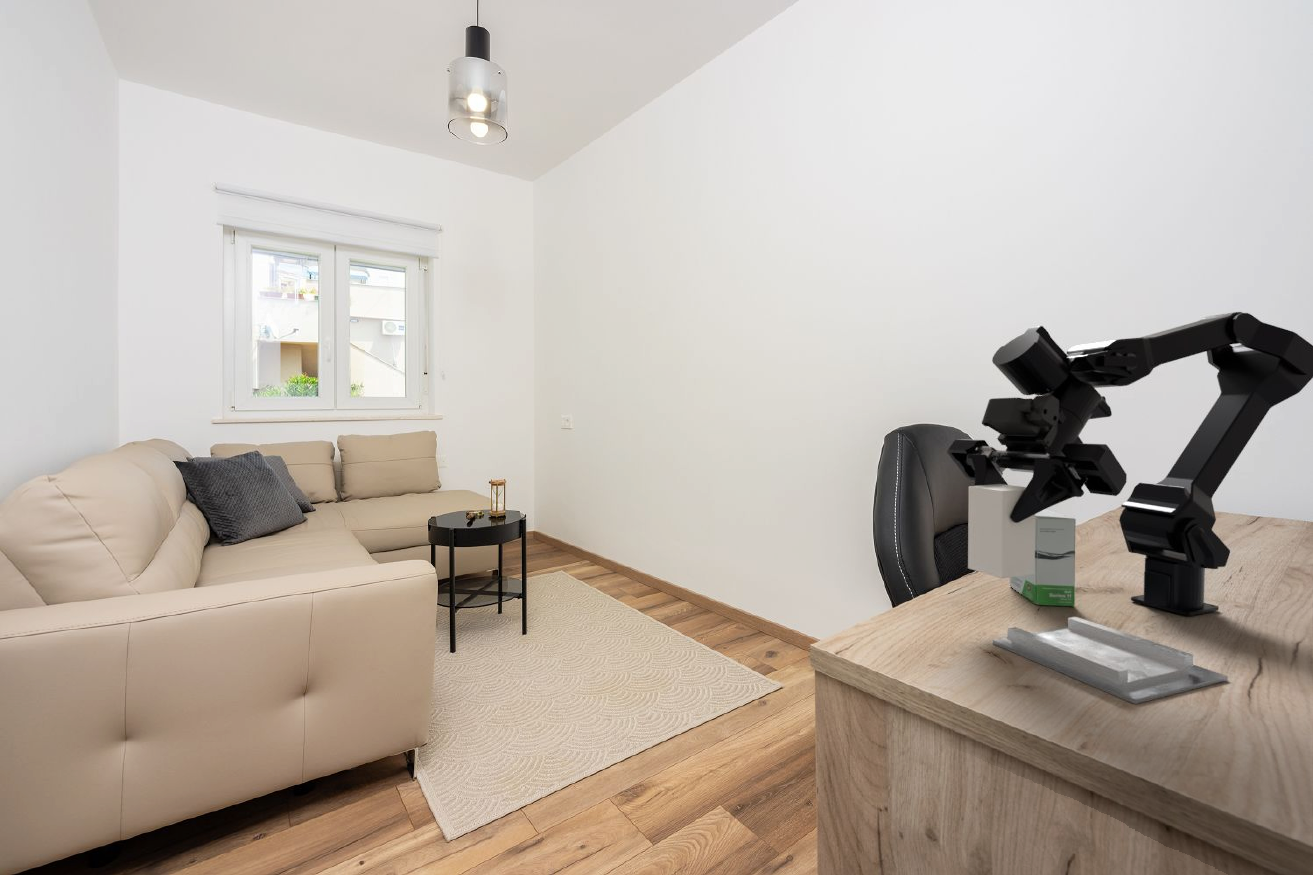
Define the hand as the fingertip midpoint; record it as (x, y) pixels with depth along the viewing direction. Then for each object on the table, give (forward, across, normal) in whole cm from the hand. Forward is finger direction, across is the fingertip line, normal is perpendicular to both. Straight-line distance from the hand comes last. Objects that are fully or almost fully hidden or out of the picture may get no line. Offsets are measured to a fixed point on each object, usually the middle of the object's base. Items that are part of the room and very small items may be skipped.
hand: (992, 516), depth 67 cm
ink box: (-2, -6, +22) cm, 23 cm away
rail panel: (+9, +10, +10) cm, 17 cm away
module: (+4, 0, +6) cm, 7 cm away
